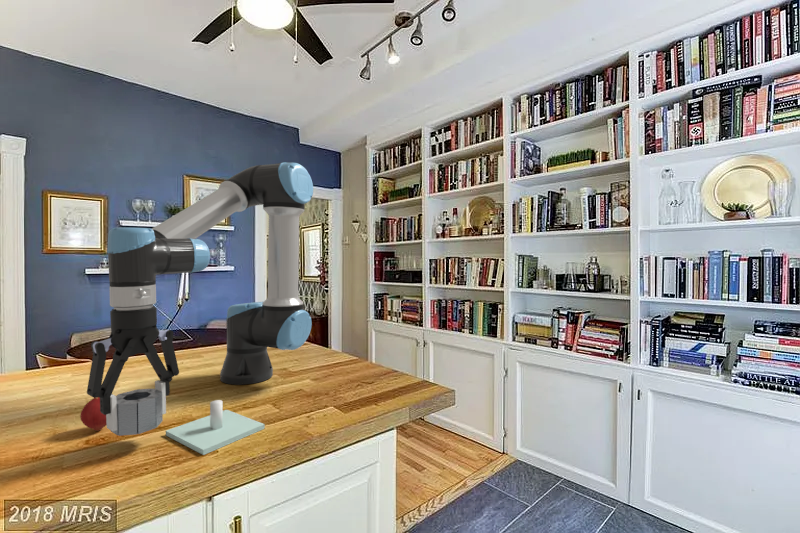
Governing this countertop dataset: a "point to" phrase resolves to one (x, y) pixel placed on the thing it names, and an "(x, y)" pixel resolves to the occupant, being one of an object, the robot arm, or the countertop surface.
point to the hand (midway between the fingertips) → (137, 420)
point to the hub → (138, 411)
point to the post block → (214, 429)
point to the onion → (93, 415)
